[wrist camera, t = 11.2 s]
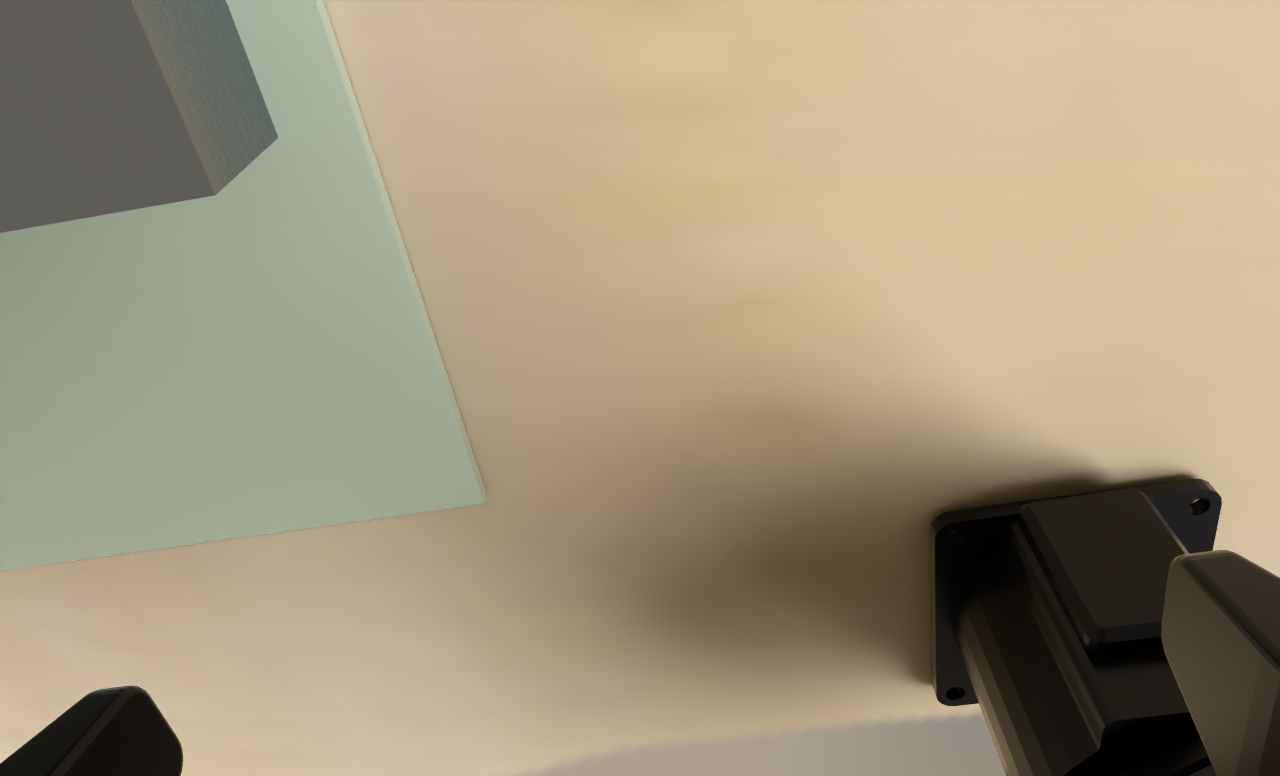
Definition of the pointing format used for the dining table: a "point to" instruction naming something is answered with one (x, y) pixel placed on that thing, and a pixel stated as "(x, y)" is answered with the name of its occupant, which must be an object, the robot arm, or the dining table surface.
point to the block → (121, 106)
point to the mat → (228, 345)
